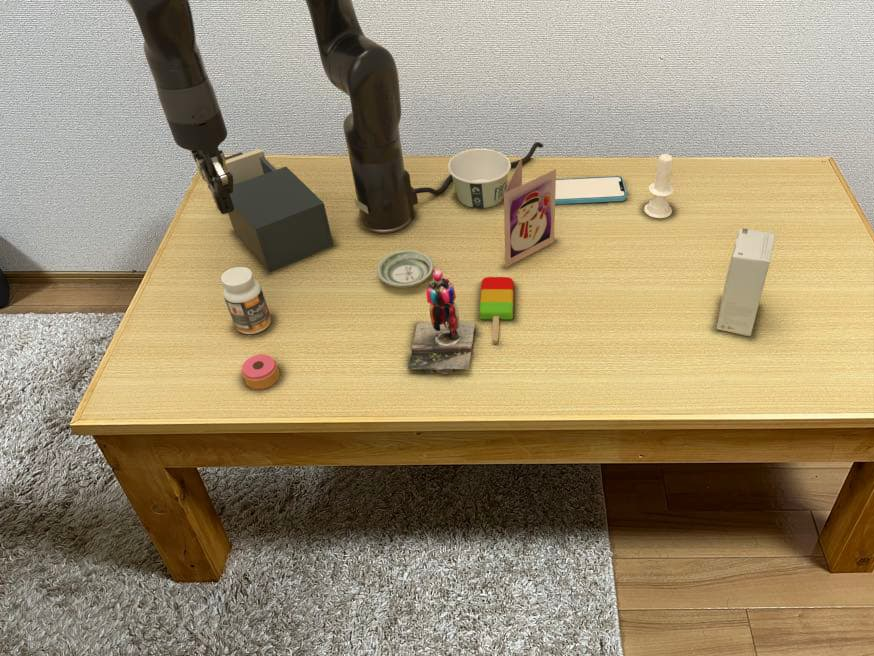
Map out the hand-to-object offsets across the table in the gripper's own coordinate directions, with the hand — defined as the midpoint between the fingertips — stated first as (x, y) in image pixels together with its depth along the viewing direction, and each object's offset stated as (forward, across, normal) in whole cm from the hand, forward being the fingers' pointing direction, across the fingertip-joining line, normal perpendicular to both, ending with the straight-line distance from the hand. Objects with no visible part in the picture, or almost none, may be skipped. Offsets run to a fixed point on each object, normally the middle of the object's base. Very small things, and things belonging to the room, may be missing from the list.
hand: (226, 210), depth 124 cm
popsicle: (+13, +33, +30) cm, 47 cm away
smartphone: (+13, +14, +64) cm, 67 cm away
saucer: (+13, +17, +22) cm, 31 cm away
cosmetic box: (+13, +57, +62) cm, 85 cm away
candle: (+13, +27, +71) cm, 77 cm away
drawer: (+12, -19, +9) cm, 24 cm away
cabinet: (+13, -6, +9) cm, 17 cm away
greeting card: (+13, +21, +43) cm, 50 cm away
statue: (+13, +36, +18) cm, 42 cm away
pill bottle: (+13, +13, -4) cm, 19 cm away
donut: (+13, +25, -8) cm, 29 cm away
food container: (+13, +3, +46) cm, 48 cm away
